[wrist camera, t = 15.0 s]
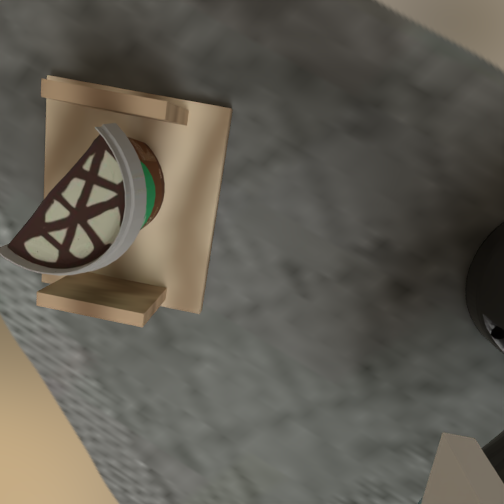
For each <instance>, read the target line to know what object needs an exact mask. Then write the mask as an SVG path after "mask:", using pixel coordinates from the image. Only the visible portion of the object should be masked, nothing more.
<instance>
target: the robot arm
mask: <svg viewBox="0 0 504 504" xmlns="http://www.w3.org/2000/svg"><path fill="white" fill-rule="evenodd" d="M466 300H467V306H468V310H469V313H470V316H471V318H472V320H473V322H474V324H475V325H476V327H477V328H478V330H479V331H480V332H481V333H482V335H483V336H484V337H485V338H486V339H487V340H489V341H490V342H491V343H492V344H493V345H494V346H495V347H496V348H497V349H498V350H500V351H501V352H502V353H503V354H504V223H502V224H501V225H500V226H499V227H498V228H496V229H495V230H494V231H493V232H492V233H491V234H490V236H489V237H488V238H487V239H486V240H485V241H484V243H483V244H482V245H481V247H480V248H479V250H478V252H477V253H476V255H475V257H474V259H473V261H472V264H471V266H470V270H469V273H468V277H467V283H466ZM418 504H504V431H502V432H501V433H500V434H499V435H498V436H496V437H495V438H494V439H493V440H491V441H490V442H489V443H488V444H486V445H485V446H484V447H483V448H480V446H479V444H478V443H477V441H476V440H475V438H470V437H465V436H459V435H454V434H449V433H444V432H443V433H442V436H441V440H440V443H439V446H438V449H437V453H436V456H435V459H434V463H433V466H432V469H431V473H430V476H429V479H428V483H427V486H426V489H425V493H424V496H423V497H422V498H421V500H420V501H419V502H418Z"/></svg>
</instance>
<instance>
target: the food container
mask: <svg viewBox="0 0 504 504" xmlns="http://www.w3.org/2000/svg"><path fill="white" fill-rule="evenodd" d="M95 129H96V130H97V131H98V132H99V133H100V134H99V136H98V137H97V138H96V139H95V140H94V141H93V143H92V144H91V146H90V147H89V148H88V150H87V151H86V152H85V153H84V154H83V156H82V157H81V158H80V159H79V160H78V161H77V163H76V164H75V165H74V166H73V167H72V168H71V169H70V171H69V172H68V173H67V174H66V175H65V176H64V177H63V178H62V179H61V180H60V181H59V182H58V183H57V184H56V186H55V187H54V188H53V189H52V190H51V191H50V192H49V193H48V195H47V196H46V197H45V199H44V200H43V201H42V203H41V204H40V206H39V207H38V209H37V210H36V211H35V213H34V214H33V215H32V217H31V218H30V219H29V220H28V222H27V223H26V224H25V225H24V226H23V228H22V229H21V230H20V231H19V232H18V234H17V235H16V236H15V237H14V239H13V240H12V241H11V242H10V243H9V244H7V245H5V246H2V247H0V255H1V256H2V257H4V258H5V259H7V260H8V261H10V262H12V263H13V264H15V265H17V266H20V267H22V268H24V269H27V270H30V271H33V272H37V273H42V274H50V275H58V276H61V275H74V274H80V273H85V272H89V271H94V270H97V269H100V268H102V267H105V266H107V265H109V264H111V263H112V262H114V261H115V260H117V259H118V258H119V257H120V256H122V255H123V254H124V253H125V252H126V251H127V250H128V248H129V247H130V246H131V245H132V243H133V242H134V241H135V239H136V237H137V235H138V233H139V231H140V230H141V229H143V228H144V227H145V226H147V225H148V224H149V223H150V222H151V221H152V220H153V219H154V218H155V217H156V215H157V214H158V212H159V210H160V208H161V206H162V203H163V199H164V193H165V182H164V176H163V172H162V169H161V166H160V164H159V161H158V159H157V157H156V156H155V154H154V153H153V151H152V150H151V149H150V148H149V146H148V145H147V144H146V143H144V142H141V141H138V140H135V139H133V138H130V137H127V136H126V134H125V133H124V132H123V131H122V130H121V128H120V127H119V126H118V125H117V124H116V123H111V124H103V125H102V126H101V127H95Z"/></svg>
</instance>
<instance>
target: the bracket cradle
mask: <svg viewBox="0 0 504 504" xmlns="http://www.w3.org/2000/svg"><path fill="white" fill-rule="evenodd" d="M41 97H44V98H46V137H45V176H44V199H45V197H46V196H47V195H48V193H49V192H50V191H51V190H52V189H53V188H54V187H55V186H56V184H57V183H58V182H59V181H60V180H61V179H62V178H63V177H64V176H65V175H66V174H67V173H68V172H69V171H70V169H71V168H72V167H73V166H74V165H75V164H76V163H77V161H78V160H79V159H80V158H81V157H82V156H83V154H84V153H85V152H86V151H87V150H88V148H89V147H90V146H91V144H92V143H93V141H94V140H95V139H96V138H97V137H98V136H99V134H100V133H99V132H98V131H97V130H96V129H95V127H101V126H102V125H103V124H111V123H116V124H117V125H118V126H119V127H120V128H121V130H122V131H123V132H124V133H125V134H126V136H127V137H130V138H133V139H135V140H138V141H141V142H144V143H146V144H147V145H148V146H149V148H150V149H151V150H152V151H153V153H154V154H155V156H156V157H157V159H158V161H159V164H160V166H161V169H162V172H163V176H164V182H165V193H164V199H163V203H162V206H161V208H160V210H159V212H158V214H157V215H156V217H155V218H154V219H153V220H152V221H151V222H150V223H149V224H148V225H147V226H145V227H144V228H143V229H141V230H140V231H139V233H138V235H137V237H136V239H135V241H134V242H133V243H132V245H131V246H130V247H129V248H128V250H127V251H126V252H125V253H124V254H123V255H122V256H120V257H119V258H118V259H117V260H115V261H114V262H112V263H111V264H109V265H107V266H105V267H102V268H100V269H97V270H94V271H89V272H85V273H80V274H74V275H61V276H58V275H50V274H42V282H45V283H50V285H49V286H47V287H45V288H43V289H41V290H39V291H38V292H37V306H42V307H47V308H52V309H57V310H61V311H66V312H71V313H76V314H81V315H86V316H90V317H95V318H100V319H105V320H110V321H115V322H119V323H124V324H129V325H134V326H139V327H143V326H144V325H145V324H146V323H147V321H148V320H149V319H150V318H151V316H152V315H153V314H154V313H155V312H156V310H157V309H158V308H159V307H160V306H163V307H168V308H173V309H178V310H183V311H188V312H192V313H197V314H200V312H201V311H202V306H203V300H204V293H205V287H206V280H207V274H208V267H209V261H210V254H211V248H212V241H213V235H214V228H215V222H216V215H217V209H218V202H219V196H220V189H221V183H222V176H223V170H224V163H225V157H226V150H227V144H228V137H229V131H230V124H231V118H232V111H233V110H232V109H231V108H226V107H220V106H215V105H209V104H204V103H198V102H193V101H187V100H182V99H176V98H171V97H165V96H160V95H154V94H149V93H143V92H138V91H132V90H127V89H121V88H116V87H110V86H105V85H99V84H94V83H88V82H83V81H77V80H72V79H66V78H61V77H55V76H50V75H47V79H42V80H41Z"/></svg>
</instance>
